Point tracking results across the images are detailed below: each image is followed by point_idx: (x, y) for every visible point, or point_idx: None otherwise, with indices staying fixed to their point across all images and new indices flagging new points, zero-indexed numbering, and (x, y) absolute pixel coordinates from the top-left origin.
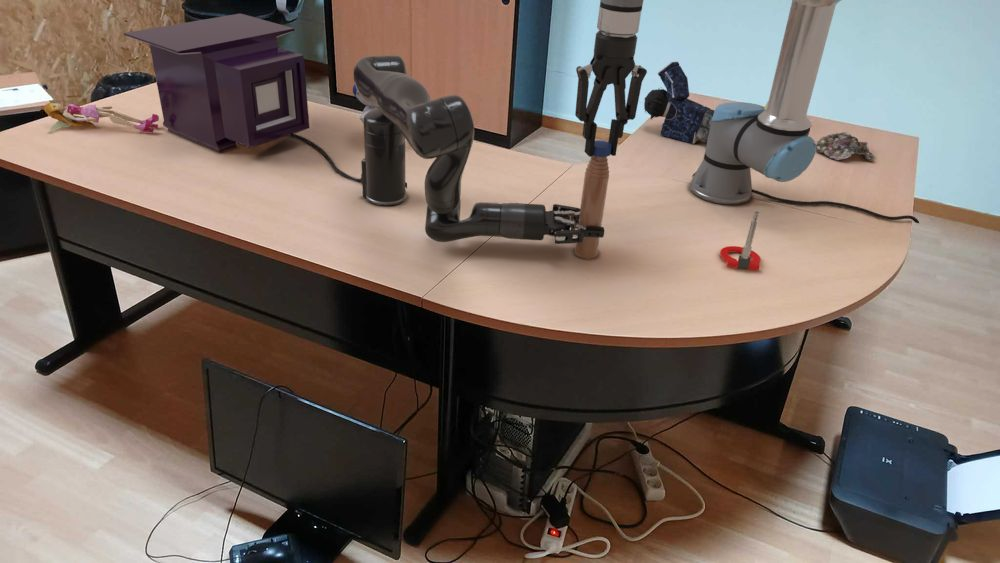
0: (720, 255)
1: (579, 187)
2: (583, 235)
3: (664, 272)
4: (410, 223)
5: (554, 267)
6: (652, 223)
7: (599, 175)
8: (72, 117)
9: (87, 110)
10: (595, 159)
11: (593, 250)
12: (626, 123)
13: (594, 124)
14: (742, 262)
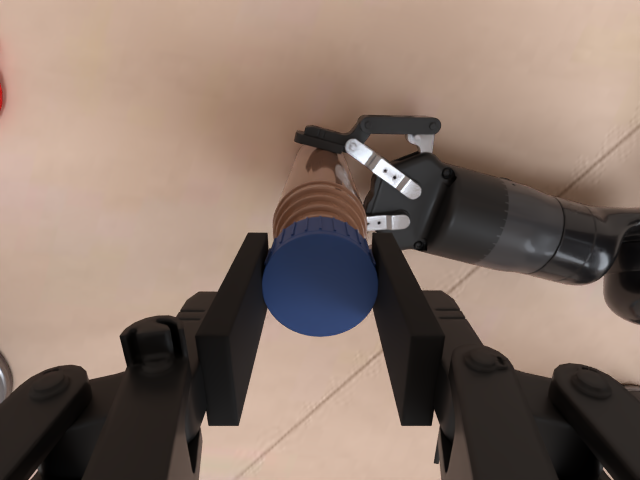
0: (1, 96)
1: (243, 412)
2: (361, 118)
3: (163, 48)
4: (618, 323)
5: (412, 113)
6: (131, 266)
7: (329, 187)
8: None
9: None
10: None
11: None
12: (140, 320)
13: (429, 344)
14: None
